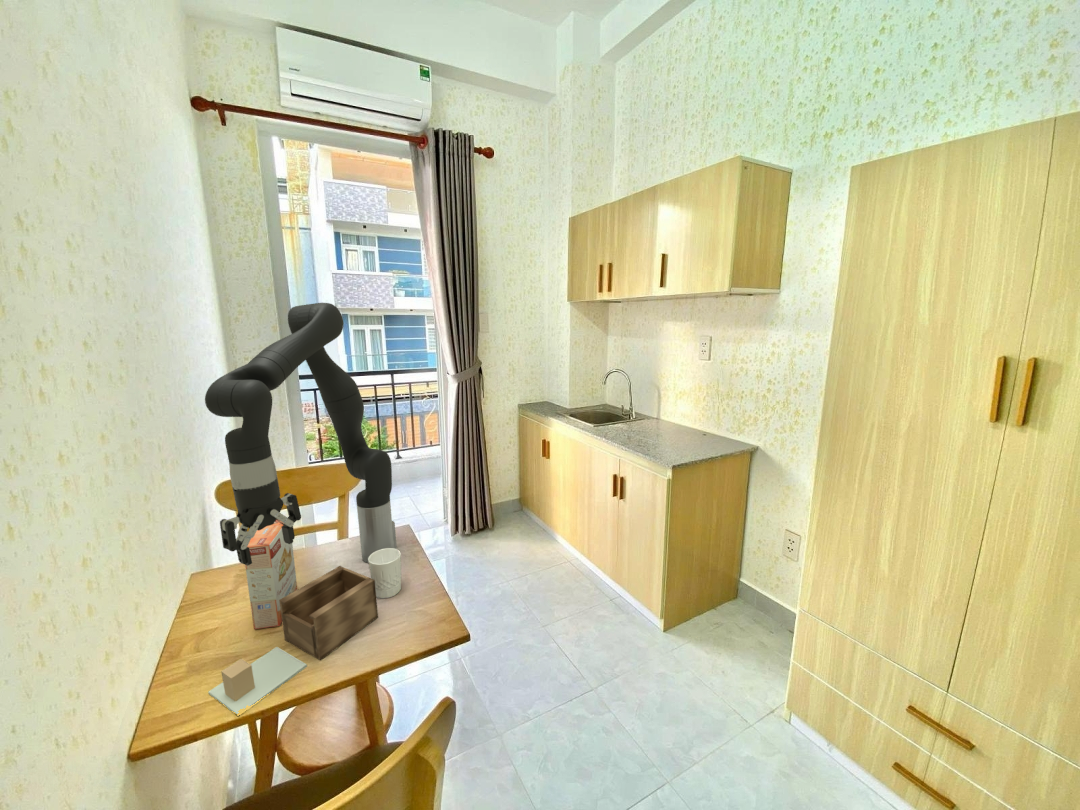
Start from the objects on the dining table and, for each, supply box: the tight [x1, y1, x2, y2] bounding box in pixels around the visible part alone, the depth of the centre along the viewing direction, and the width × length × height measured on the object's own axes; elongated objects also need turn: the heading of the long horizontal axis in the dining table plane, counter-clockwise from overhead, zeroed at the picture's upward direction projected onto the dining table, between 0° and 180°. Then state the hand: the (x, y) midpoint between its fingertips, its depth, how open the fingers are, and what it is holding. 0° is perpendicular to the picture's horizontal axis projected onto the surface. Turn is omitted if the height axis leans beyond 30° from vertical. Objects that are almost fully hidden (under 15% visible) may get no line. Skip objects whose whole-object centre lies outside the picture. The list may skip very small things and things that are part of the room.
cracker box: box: [244, 521, 298, 630], centre depth 104 cm, size 14×6×21 cm, turn 14°
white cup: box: [368, 548, 402, 599], centre depth 112 cm, size 8×8×10 cm
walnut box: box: [279, 565, 379, 661], centre depth 98 cm, size 15×12×10 cm
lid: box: [207, 646, 308, 714], centre depth 85 cm, size 13×10×6 cm
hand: (268, 552), depth 89 cm, fingers open, 8 cm apart
